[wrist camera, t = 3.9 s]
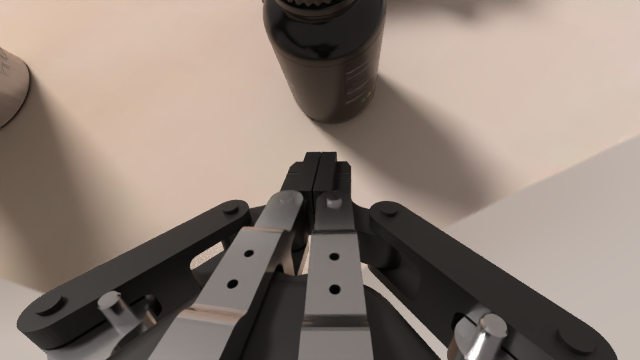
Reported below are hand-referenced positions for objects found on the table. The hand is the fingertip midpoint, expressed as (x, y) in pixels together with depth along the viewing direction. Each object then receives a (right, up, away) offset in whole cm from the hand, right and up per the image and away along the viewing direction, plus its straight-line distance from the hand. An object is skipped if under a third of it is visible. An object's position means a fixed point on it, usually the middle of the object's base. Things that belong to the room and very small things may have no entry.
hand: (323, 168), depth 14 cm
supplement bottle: (+1, +7, +9) cm, 12 cm away
